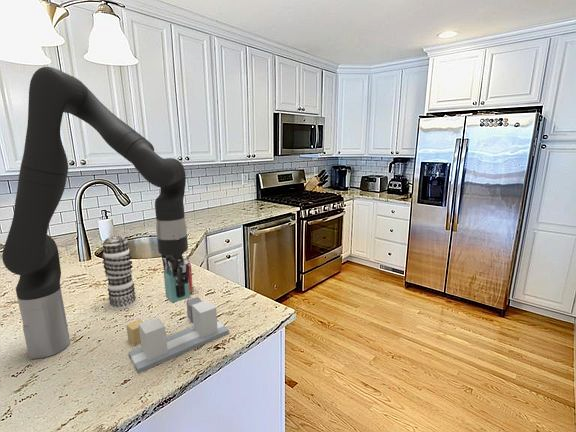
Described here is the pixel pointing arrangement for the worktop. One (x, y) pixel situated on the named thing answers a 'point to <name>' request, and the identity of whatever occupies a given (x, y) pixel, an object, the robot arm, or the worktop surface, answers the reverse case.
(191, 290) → the soda can
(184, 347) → the rail plate
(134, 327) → the ochre block
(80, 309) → the worktop surface
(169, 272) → the block
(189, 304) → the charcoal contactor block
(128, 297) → the black and white cylinder
